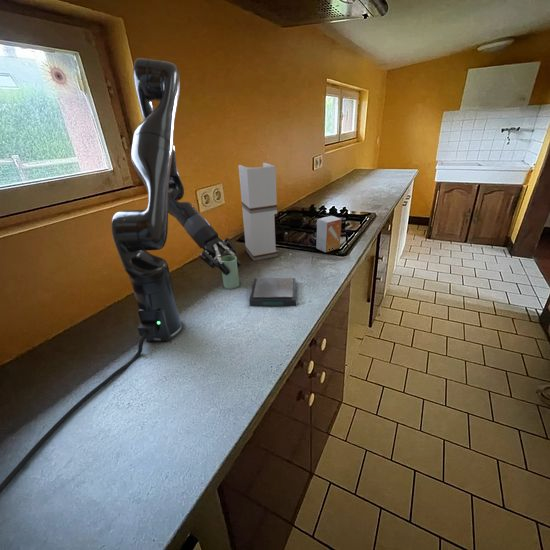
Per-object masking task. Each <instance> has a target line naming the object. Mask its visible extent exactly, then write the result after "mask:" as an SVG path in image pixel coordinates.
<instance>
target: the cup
mask: <svg viewBox="0 0 550 550" xmlns="http://www.w3.org/2000/svg"><path fill="white" fill-rule="evenodd" d="M237 259H238V257H237V256H236V255H235V256H233V255H230V254H229V255H227V256H221V260H222V264H223V263H224V264H225V265H226V266H227V267H228V269H229V270H230V271H231V272H230V273H229V274H228V275H225V274H223V272H222V271H221V277H222V284H223V287H224V289H228V290H233V289H237V288H239V286H240V275H239V267H238V265H237Z"/></svg>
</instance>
